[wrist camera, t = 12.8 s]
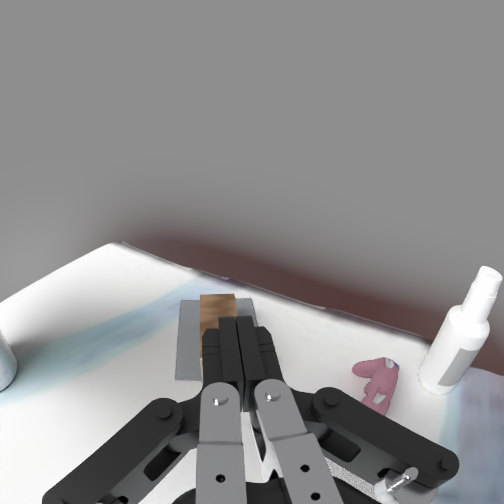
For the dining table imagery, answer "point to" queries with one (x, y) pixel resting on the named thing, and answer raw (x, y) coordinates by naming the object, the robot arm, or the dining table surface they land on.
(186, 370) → the rubber mat
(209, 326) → the walnut block
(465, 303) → the spray bottle
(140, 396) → the dining table surface
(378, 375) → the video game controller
